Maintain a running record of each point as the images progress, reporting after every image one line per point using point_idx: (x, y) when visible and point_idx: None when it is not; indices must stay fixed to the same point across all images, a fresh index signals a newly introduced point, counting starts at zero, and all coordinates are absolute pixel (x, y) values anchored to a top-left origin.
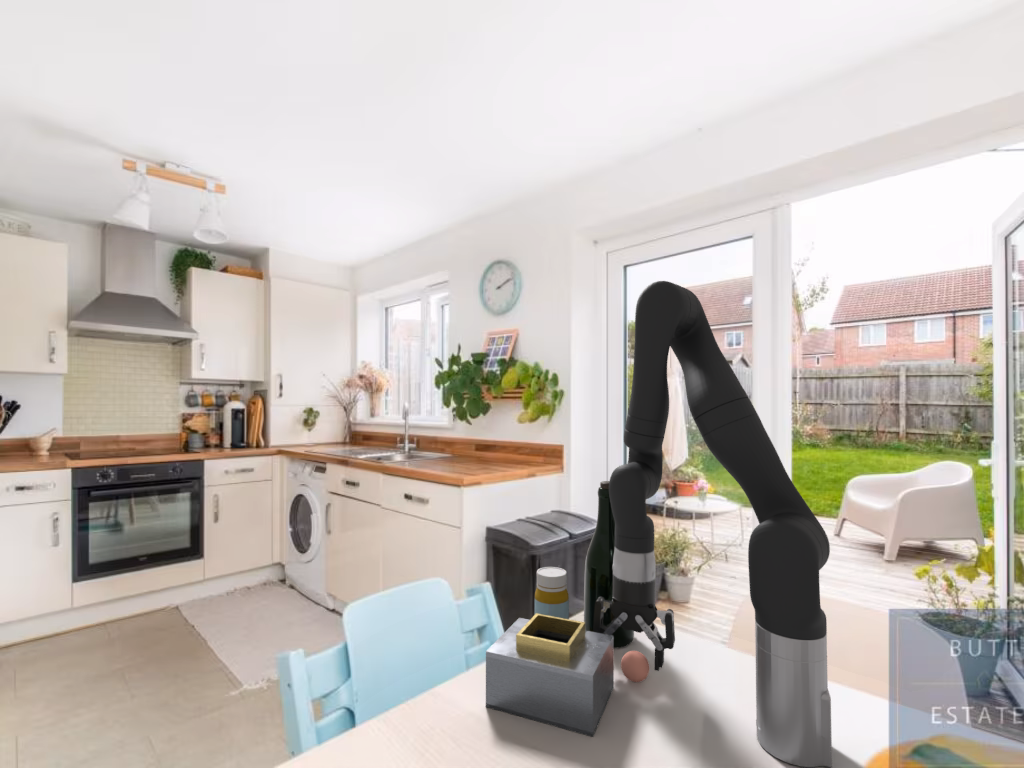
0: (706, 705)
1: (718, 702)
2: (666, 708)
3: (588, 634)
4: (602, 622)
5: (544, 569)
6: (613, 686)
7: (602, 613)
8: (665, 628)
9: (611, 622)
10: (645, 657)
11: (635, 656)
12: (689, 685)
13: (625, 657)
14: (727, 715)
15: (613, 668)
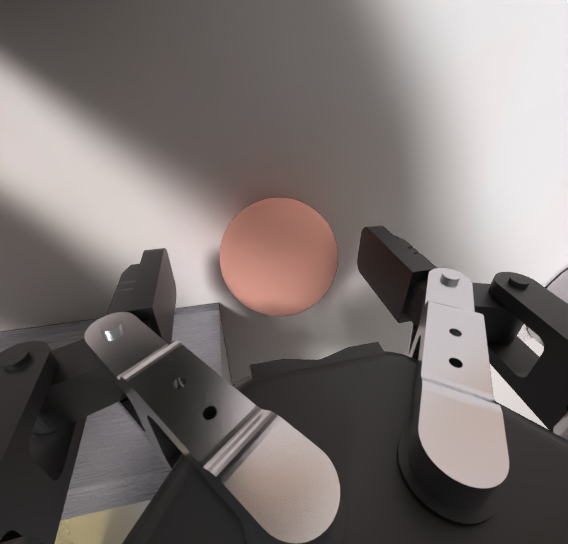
0: (467, 251)
1: (503, 223)
2: (367, 309)
3: (97, 530)
4: (42, 389)
5: None
6: (218, 307)
7: (20, 508)
8: (544, 424)
9: (134, 406)
10: (331, 262)
11: (297, 308)
12: (446, 171)
13: (250, 306)
14: (503, 265)
15: (220, 350)
